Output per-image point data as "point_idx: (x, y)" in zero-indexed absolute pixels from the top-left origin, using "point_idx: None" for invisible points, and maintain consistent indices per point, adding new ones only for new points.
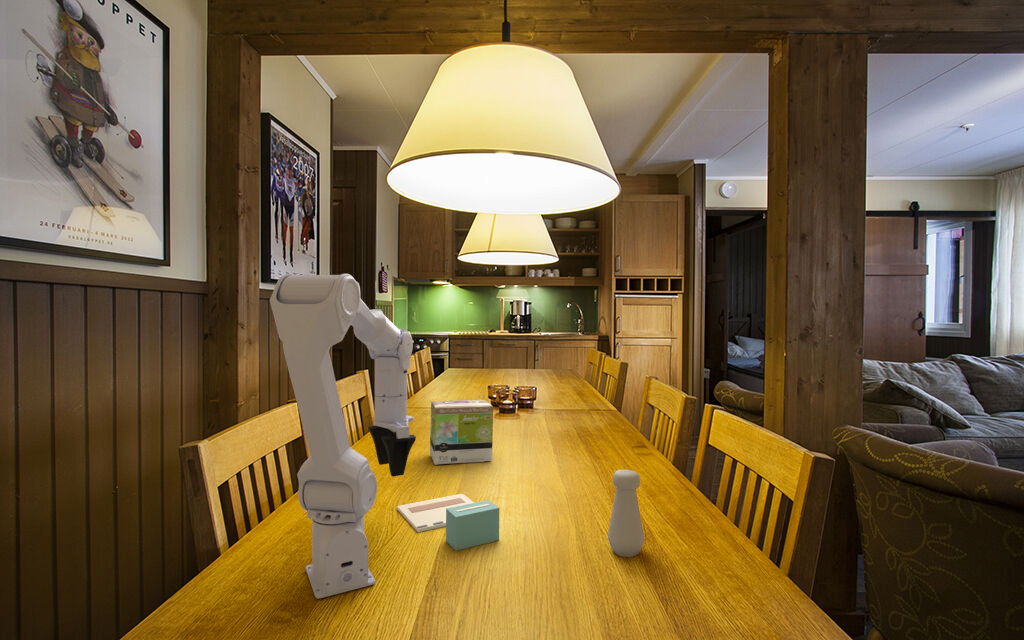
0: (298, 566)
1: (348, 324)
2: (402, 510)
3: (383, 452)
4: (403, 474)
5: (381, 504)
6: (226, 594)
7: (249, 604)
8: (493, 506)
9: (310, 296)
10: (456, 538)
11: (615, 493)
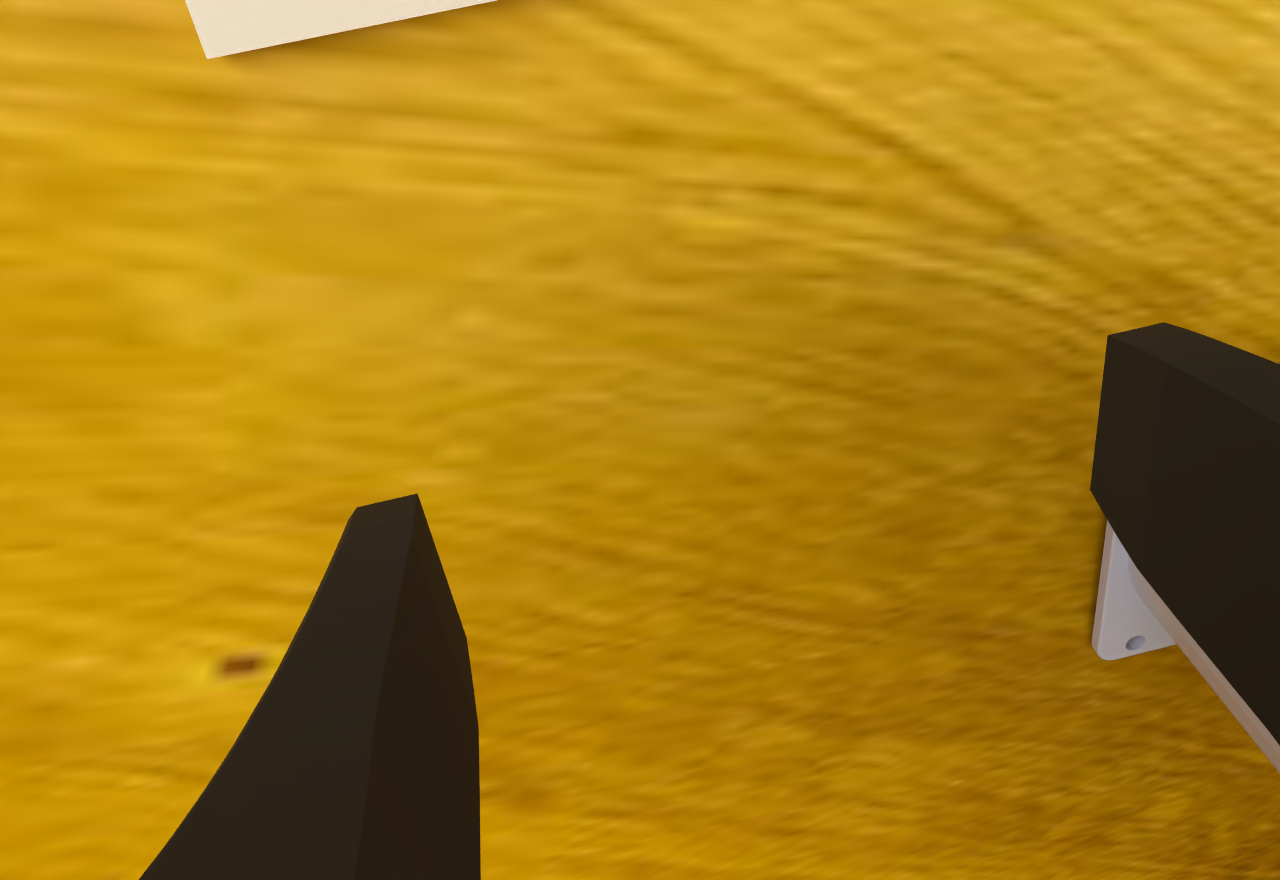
0: (1025, 680)
1: None
2: (380, 5)
3: (456, 765)
4: (1166, 323)
5: (18, 210)
6: (1109, 858)
7: (1246, 776)
8: None
9: None
10: None
11: None
